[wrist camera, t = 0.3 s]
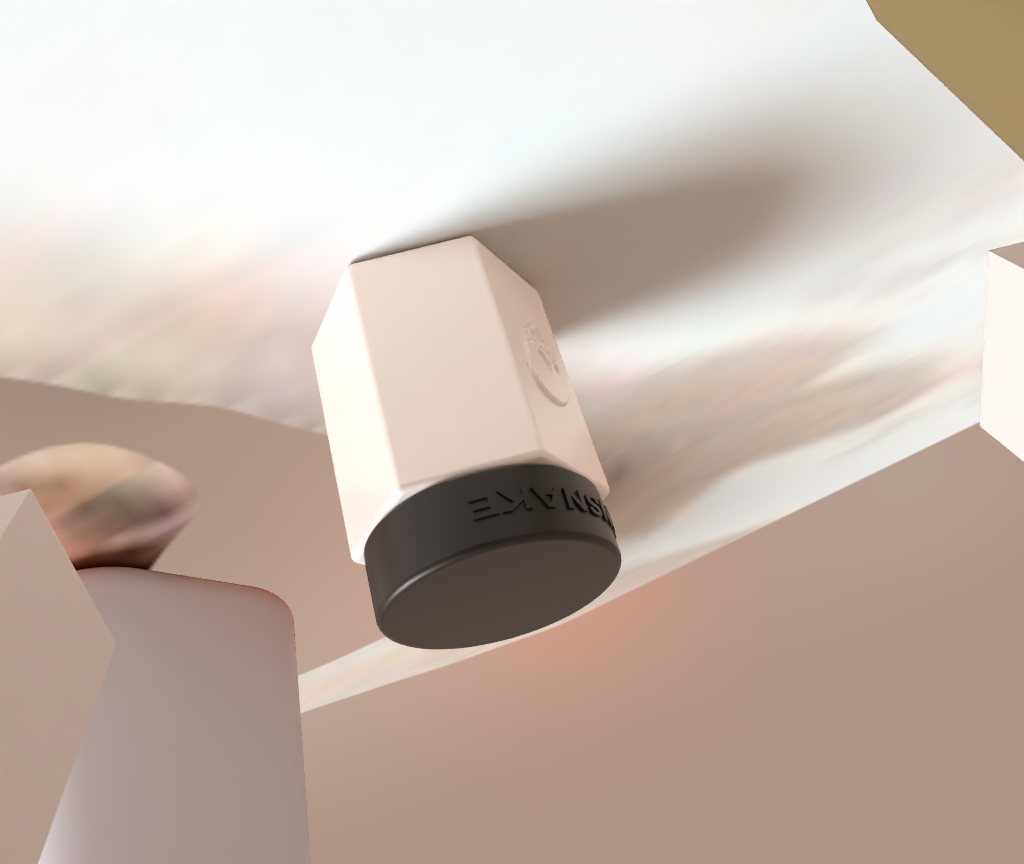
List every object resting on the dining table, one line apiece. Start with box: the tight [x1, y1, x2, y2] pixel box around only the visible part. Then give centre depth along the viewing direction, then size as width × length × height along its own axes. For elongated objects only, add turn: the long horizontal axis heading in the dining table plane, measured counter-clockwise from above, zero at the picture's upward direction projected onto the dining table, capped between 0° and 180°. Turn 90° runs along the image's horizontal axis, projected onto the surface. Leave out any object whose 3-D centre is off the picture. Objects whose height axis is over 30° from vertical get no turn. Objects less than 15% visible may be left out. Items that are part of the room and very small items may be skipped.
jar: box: [312, 236, 621, 649], centre depth 33 cm, size 9×8×12 cm
